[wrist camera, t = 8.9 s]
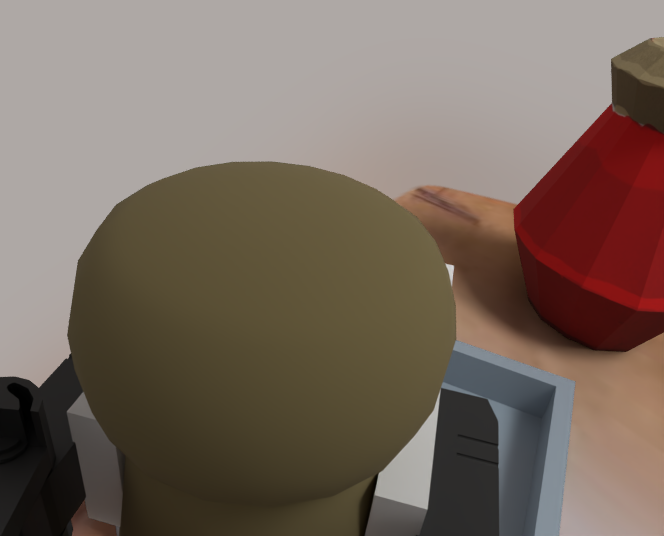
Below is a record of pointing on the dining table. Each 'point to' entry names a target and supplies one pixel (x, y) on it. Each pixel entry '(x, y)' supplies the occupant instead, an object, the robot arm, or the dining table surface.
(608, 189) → the bottle
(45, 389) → the robot arm
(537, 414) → the tray
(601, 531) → the dining table surface
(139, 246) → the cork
